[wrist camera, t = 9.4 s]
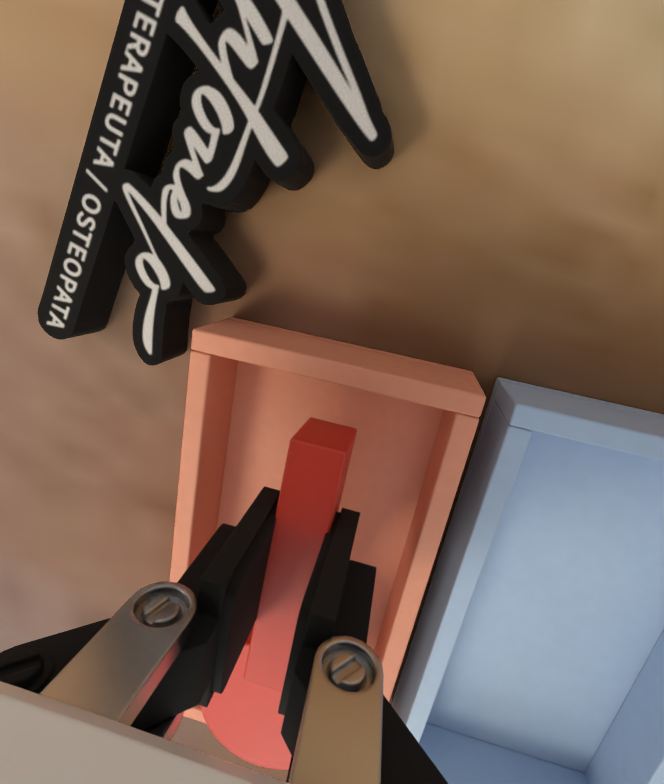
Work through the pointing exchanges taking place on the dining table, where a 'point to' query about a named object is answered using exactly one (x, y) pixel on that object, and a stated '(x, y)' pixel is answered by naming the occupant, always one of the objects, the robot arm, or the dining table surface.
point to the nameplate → (196, 154)
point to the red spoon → (282, 595)
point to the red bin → (367, 463)
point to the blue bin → (547, 601)
